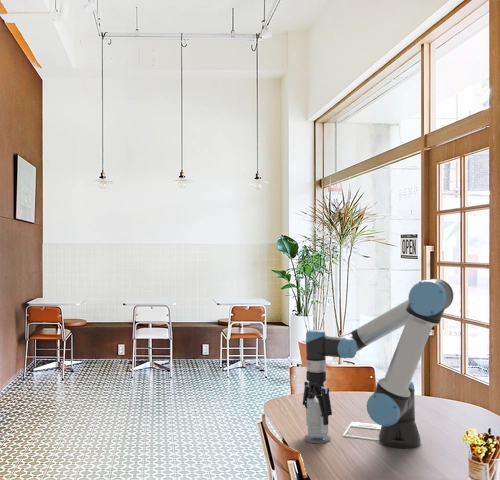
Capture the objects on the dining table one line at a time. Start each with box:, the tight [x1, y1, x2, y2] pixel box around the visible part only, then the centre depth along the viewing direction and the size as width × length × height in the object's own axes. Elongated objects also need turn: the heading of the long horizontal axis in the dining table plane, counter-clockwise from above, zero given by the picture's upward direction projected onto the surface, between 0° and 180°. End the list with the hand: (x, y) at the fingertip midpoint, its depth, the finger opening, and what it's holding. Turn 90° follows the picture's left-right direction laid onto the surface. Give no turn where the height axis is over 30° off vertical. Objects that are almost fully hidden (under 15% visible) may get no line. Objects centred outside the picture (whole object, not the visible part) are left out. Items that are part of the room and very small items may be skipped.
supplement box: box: [307, 397, 328, 436], centre depth 197 cm, size 7×7×13 cm
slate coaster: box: [303, 434, 331, 445], centre depth 196 cm, size 10×10×1 cm
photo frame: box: [342, 421, 381, 442], centre depth 204 cm, size 15×1×18 cm
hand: (317, 428), depth 196 cm, fingers closed on supplement box, 10 cm apart
